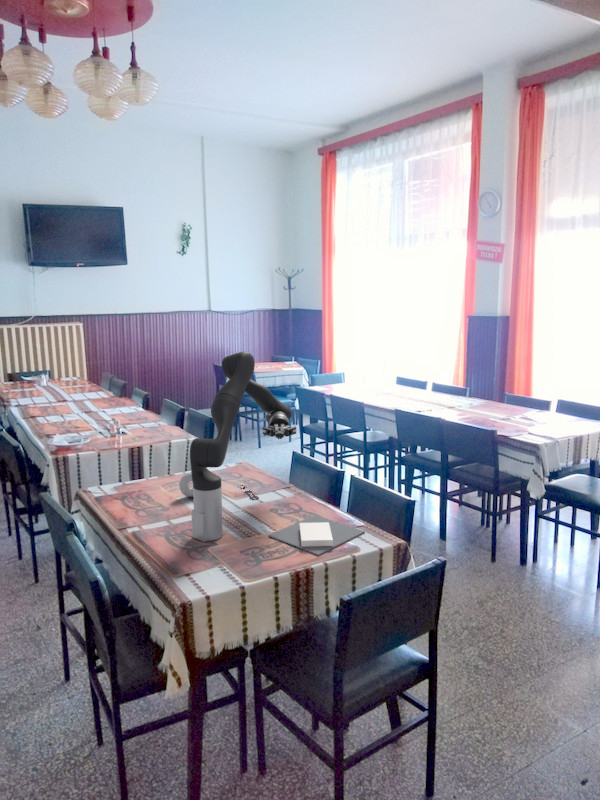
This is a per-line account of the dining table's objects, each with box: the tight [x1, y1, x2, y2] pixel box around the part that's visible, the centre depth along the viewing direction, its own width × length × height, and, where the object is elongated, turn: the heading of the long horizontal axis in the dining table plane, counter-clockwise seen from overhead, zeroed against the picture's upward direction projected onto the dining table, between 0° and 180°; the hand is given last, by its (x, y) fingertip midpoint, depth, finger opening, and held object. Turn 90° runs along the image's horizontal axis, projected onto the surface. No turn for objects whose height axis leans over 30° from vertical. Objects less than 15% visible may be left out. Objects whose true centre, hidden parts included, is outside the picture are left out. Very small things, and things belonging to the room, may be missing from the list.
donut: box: [178, 471, 193, 498], centre depth 239 cm, size 10×4×10 cm, turn 119°
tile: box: [299, 522, 333, 547], centre depth 199 cm, size 2×10×14 cm
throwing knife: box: [241, 484, 260, 501], centre depth 245 cm, size 4×20×1 cm, turn 23°
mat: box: [267, 514, 366, 557], centre depth 203 cm, size 24×22×1 cm
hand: (279, 436), depth 212 cm, fingers closed
